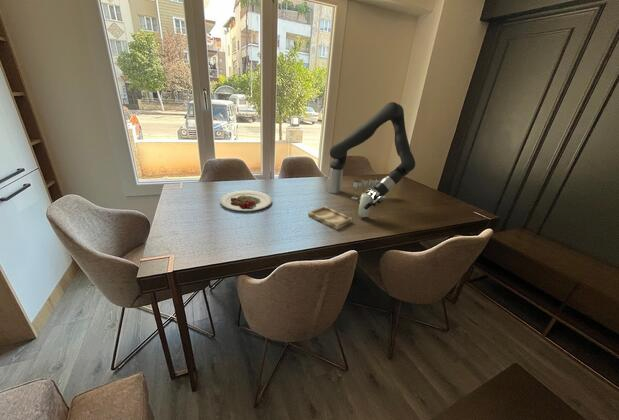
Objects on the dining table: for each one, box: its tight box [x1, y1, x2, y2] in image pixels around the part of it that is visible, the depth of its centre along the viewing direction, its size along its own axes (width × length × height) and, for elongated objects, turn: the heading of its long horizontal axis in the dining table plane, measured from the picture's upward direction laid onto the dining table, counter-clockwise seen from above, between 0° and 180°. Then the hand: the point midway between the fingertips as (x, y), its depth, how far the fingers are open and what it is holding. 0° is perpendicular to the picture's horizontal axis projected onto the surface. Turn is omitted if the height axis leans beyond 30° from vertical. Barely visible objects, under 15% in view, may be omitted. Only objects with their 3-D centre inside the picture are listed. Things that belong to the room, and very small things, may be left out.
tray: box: [307, 205, 353, 231], centre depth 140 cm, size 20×14×2 cm
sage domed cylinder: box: [357, 192, 372, 218], centre depth 143 cm, size 6×6×12 cm
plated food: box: [219, 189, 273, 212], centre depth 151 cm, size 30×30×3 cm
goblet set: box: [351, 177, 387, 200], centre depth 174 cm, size 28×6×13 cm, turn 109°
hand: (362, 206), depth 142 cm, fingers closed on sage domed cylinder, 6 cm apart
